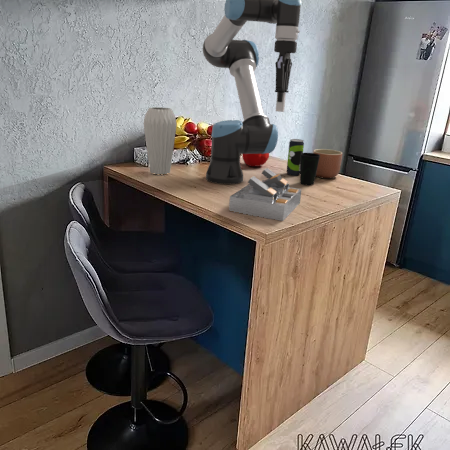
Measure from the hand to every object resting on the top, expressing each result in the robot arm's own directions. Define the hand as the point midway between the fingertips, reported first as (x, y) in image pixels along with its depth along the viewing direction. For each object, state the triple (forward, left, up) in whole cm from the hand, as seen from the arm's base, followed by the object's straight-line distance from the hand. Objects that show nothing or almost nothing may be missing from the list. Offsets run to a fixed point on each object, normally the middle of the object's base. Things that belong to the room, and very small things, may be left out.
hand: (279, 111), depth 163 cm
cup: (+9, +18, -30) cm, 36 cm away
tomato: (-20, +37, -30) cm, 51 cm away
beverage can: (0, +31, -30) cm, 43 cm away
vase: (-49, 0, -30) cm, 57 cm away
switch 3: (+4, -14, -21) cm, 26 cm away
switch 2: (+4, -28, -21) cm, 35 cm away
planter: (+13, +35, -30) cm, 48 cm away
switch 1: (+4, -21, -21) cm, 30 cm away
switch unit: (+4, -21, -29) cm, 36 cm away
